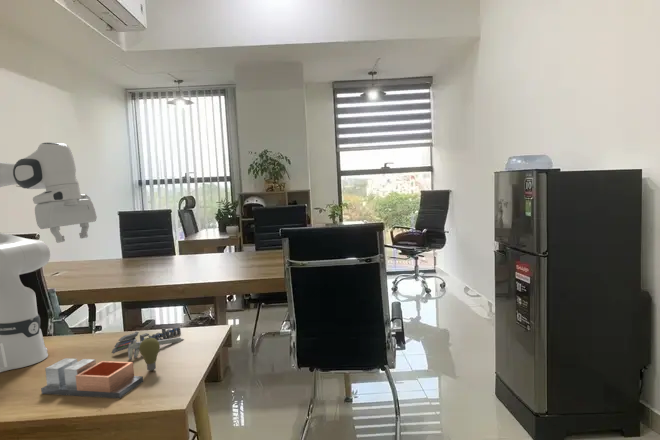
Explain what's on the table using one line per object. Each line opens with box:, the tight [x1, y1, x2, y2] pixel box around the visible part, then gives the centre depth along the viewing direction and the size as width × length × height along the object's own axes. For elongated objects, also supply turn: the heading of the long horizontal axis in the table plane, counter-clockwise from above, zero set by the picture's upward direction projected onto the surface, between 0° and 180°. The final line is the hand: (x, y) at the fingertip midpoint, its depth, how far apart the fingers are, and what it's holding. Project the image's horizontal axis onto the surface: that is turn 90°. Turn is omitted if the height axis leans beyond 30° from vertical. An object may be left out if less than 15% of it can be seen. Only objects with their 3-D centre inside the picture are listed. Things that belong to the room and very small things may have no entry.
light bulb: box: [139, 337, 161, 372], centre depth 136 cm, size 6×6×10 cm
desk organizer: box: [40, 357, 144, 399], centre depth 127 cm, size 24×10×6 cm, turn 77°
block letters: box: [111, 326, 182, 354], centre depth 160 cm, size 25×2×6 cm, turn 142°
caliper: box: [127, 337, 185, 360], centre depth 155 cm, size 20×1×6 cm, turn 145°
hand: (72, 240), depth 142 cm, fingers open, 8 cm apart
